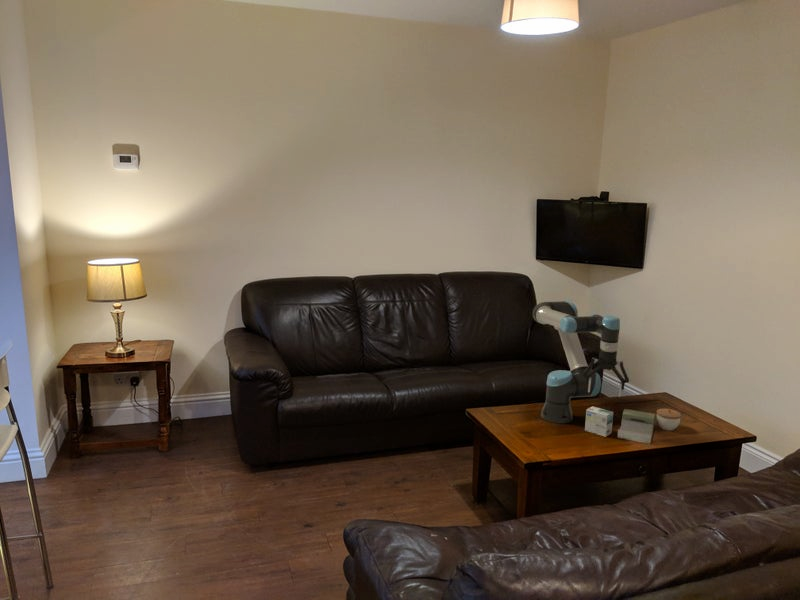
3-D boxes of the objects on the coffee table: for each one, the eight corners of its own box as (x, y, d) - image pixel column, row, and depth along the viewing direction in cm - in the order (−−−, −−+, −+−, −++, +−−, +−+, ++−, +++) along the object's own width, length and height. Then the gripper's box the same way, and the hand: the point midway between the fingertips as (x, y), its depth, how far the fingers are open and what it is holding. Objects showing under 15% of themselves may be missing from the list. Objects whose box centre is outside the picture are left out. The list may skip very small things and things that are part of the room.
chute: (617, 437, 276) (618, 429, 275) (621, 426, 289) (622, 418, 289) (650, 443, 270) (651, 436, 269) (652, 431, 283) (653, 424, 282)
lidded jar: (681, 433, 282) (684, 414, 280) (657, 431, 284) (659, 412, 282) (676, 424, 292) (678, 406, 290) (653, 422, 294) (655, 404, 292)
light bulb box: (612, 433, 281) (614, 411, 279) (605, 437, 276) (607, 415, 274) (590, 426, 288) (592, 405, 286) (584, 430, 283) (585, 409, 281)
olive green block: (621, 425, 290) (622, 413, 289) (623, 420, 296) (624, 408, 295) (652, 431, 284) (653, 419, 283) (653, 425, 290) (654, 414, 289)
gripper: (579, 348, 276) (575, 392, 280) (637, 355, 267) (632, 400, 271) (581, 344, 283) (577, 386, 287) (637, 351, 273) (632, 395, 278)
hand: (604, 393), depth 279 cm, fingers open, 13 cm apart
